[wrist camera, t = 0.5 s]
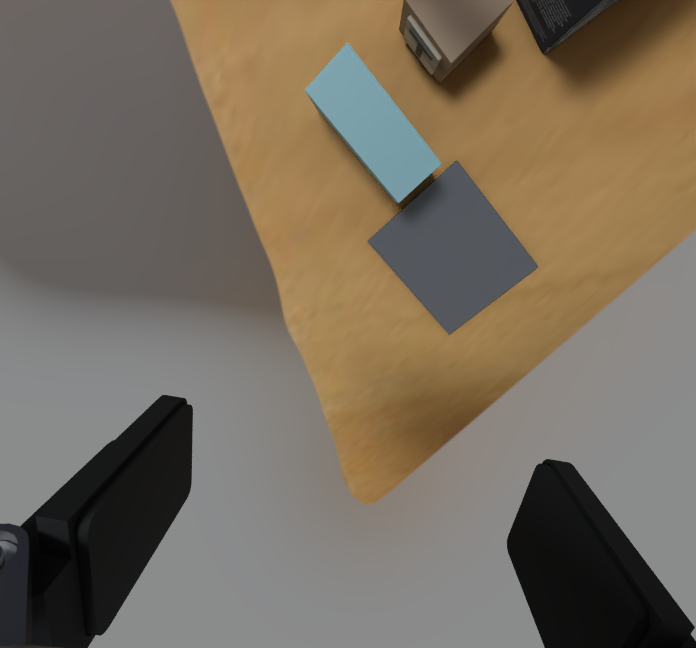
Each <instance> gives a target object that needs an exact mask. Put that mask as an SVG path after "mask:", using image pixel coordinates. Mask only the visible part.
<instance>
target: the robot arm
mask: <svg viewBox="0 0 696 648" xmlns="http://www.w3.org/2000/svg"><path fill="white" fill-rule="evenodd" d="M192 419H193V408H192V406H191V405H188V404H187V401H186V399H185V398H180V397H174V396H168V395H162V396H161V397H160V398H159V399H157V400H156V401H155V402H154V403H153V404H152V405H151V406H150V407H149V408H148V409H147V410H146V411H145V412H144V413H143V414H142V415H141V416H140V417H139V418H138V419H136V421H134V422H133V423H132V424H131V425H130V426H129V427H128V428H127V429H126V430H125V431H124V432H123V433H122V434H121V435H120V436H119V437H118V438H117V439H116V440H114V441H111V442H110V443H109V444H107V445H106V446H105V447H104V448H103V449H102V450H101V451H100V452H99V453H98V454H96V455H95V456H94V457H93V458H92V459H91V460H90V461H89V462H88V463H87V464H86V465H85V466H84V467H83V468H82V469H81V470H79V471H78V472H77V473H76V474H75V475H74V476H73V477H72V478H71V479H70V480H69V481H68V482H67V483H66V484H65V485H64V486H63V487H61V488H60V489H59V490H58V491H57V492H56V493H55V494H54V495H53V496H52V497H51V498H50V499H49V500H48V501H47V502H46V503H44V504H43V505H42V506H41V507H40V508H39V509H38V510H37V511H36V512H35V513H34V514H33V515H32V516H31V517H30V518H29V519H27V521H25V522H24V523H23V524H22V525H21V526H17V525H13V524H0V648H88V646H89V644H90V643H91V641H92V640H93V638H94V637H95V635H102V634H103V633H104V632H105V631H106V630H107V629H108V627H109V626H110V624H111V623H112V621H113V619H114V618H115V616H116V614H117V612H118V611H119V609H120V608H121V606H122V604H123V603H124V601H125V599H126V598H127V596H128V595H129V593H130V591H131V589H132V588H133V586H134V585H135V583H136V581H137V580H138V578H139V576H140V575H141V573H142V572H143V570H144V568H145V566H146V565H147V563H148V562H149V560H150V558H151V557H152V555H153V553H154V552H155V550H156V549H157V547H158V545H159V543H160V542H161V540H162V539H163V537H164V535H165V534H166V532H167V530H168V529H169V527H170V525H171V524H172V522H173V521H174V519H175V517H176V515H177V514H178V512H179V511H180V509H181V507H182V506H183V504H184V502H185V501H186V499H187V497H188V495H189V492H190V488H191V478H192V477H191V476H192V422H193V421H192ZM507 549H508V553H509V556H510V558H511V561H512V563H513V566H514V569H515V571H516V574H517V577H518V579H519V582H520V584H521V586H522V589H523V592H524V595H525V597H526V600H527V603H528V605H529V607H530V610H531V613H532V616H533V618H534V621H535V623H536V626H537V628H538V631H539V634H540V636H541V639H542V641H543V644H544V647H545V648H696V641H695V640H694V638H693V637H692V636H691V632H692V631H693V629H694V628H695V627H694V626H693V624H692V623H691V622H690V620H689V619H688V618H687V616H686V615H685V614H684V612H683V611H682V610H681V608H680V607H679V606H678V604H677V603H676V602H675V600H674V599H673V598H672V596H671V595H670V594H669V592H668V591H667V590H666V588H665V587H664V586H663V584H662V583H661V582H660V580H659V579H658V578H657V576H656V575H655V574H654V572H653V571H652V570H651V568H650V567H649V566H648V565H647V563H646V562H645V560H644V559H643V558H642V557H641V555H640V554H639V552H638V551H637V550H636V549H635V547H634V546H633V544H632V543H631V542H630V540H629V539H628V538H627V537H626V535H625V534H624V532H623V531H622V530H621V529H620V527H619V526H618V525H617V523H616V522H615V521H614V519H613V518H612V517H611V515H610V514H609V513H608V511H607V510H606V509H605V507H604V506H603V505H602V503H601V502H600V501H599V499H598V498H597V497H596V495H595V494H594V493H593V491H592V490H591V489H590V487H589V486H588V485H587V483H586V482H585V481H584V479H583V478H582V477H581V476H580V474H579V473H578V471H577V470H576V469H575V467H574V466H573V465H572V464H571V463H568V462H562V461H556V460H550V459H547V460H545V461H543V463H542V464H538V465H537V466H536V468H535V470H534V473H533V475H532V478H531V480H530V483H529V485H528V488H527V490H526V493H525V495H524V498H523V500H522V503H521V505H520V508H519V510H518V513H517V515H516V518H515V521H514V523H513V526H512V528H511V530H510V533H509V536H508V539H507Z"/></svg>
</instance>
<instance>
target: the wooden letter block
mask: <svg viewBox="0 0 696 648" xmlns="http://www.w3.org/2000/svg"><path fill="white" fill-rule="evenodd" d="M513 1H514V0H404V2H403V8H402V15H401V21H400V27H399V30H400V31H401V33H402V34H403V35H404V39H405V41H406V42H407V43H408V45H409V46H410V48H411V49H412V50H413V52H414V53H415V54H416V56H417V57H418V58H419V60H420V61H421V62H422V64H423V65H424V66H425V68H426V69H427V70H428V72H429V73H430V74H431V75H433V76H434V77H435V79H436V80H437V81H438V83H440V82H441V81H442V80H443V79H444V78H445V77H446V76H447V75H448V74H449V73H450V72H451V71H452V70H453V69H454V68H455V67H456V66H457V65H459V64H460V63H461V62H462V61H463V60H464V59H465V58H466V57H467V56H468V55H469V54H470V53H471V52H472V51H473V50H474V49H475V48H476V47H477V46H478V45H479V44H480V43H481V42H482V41H483V40H484V39H485V38H486V37H487V36H488V35H489V34H490V33H491V32H492V30H493V29H494V28H495V26H496V25H497V23H498V22H499V21H500V19H501V18H502V17H503V15H504V14H505V12H506V11H507V10H508V8H509V7H510V6H511V4H512V3H513Z"/></svg>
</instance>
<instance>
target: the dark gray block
mask: <svg viewBox="0 0 696 648" xmlns="http://www.w3.org/2000/svg"><path fill="white" fill-rule="evenodd" d="M368 242H369V244H370V245H371V246H372V247H373V248H374V249H375V250H376V252H377V253H378V254H379V255H380V256H381V257H382V258H383V260H384V261H385V262H386V263H387V264H388V265H389V266H390V268H391V269H392V270H393V271H394V272H395V273H396V274H397V275H398V277H399V278H400V279H401V280H402V281H403V282H404V283H405V285H406V286H407V287H408V288H409V289H410V290H411V291H412V293H413V294H414V295H415V296H416V297H417V298H418V299H419V301H420V302H421V303H422V304H423V305H424V306H425V307H426V309H427V310H428V311H429V312H430V313H431V314H432V315H433V317H434V318H435V319H436V320H437V321H438V322H439V323H440V325H441V326H442V327H443V328H444V329H445V330H446V331H447V333H448V334H450V333H452V332H453V331H454V330H456V329H457V328H458V327H460V326H461V325H462V324H464V323H465V322H466V321H468V320H469V319H470V318H472V317H473V316H474V315H476V314H477V313H478V312H479V311H481V310H482V309H483V308H485V307H486V306H487V305H489V304H490V303H491V302H493V301H494V300H495V299H497V298H498V297H499V296H501V295H502V294H503V293H504V292H506V291H507V290H508V289H510V288H511V287H512V286H514V285H515V284H516V283H518V282H519V281H520V280H522V279H523V278H524V277H526V276H527V275H528V274H529V273H531V272H532V271H533V270H535V269H536V268H537V267H538V265H537V264H536V263H535V261H534V260H533V259H532V257H531V256H530V255H529V254H528V252H527V251H526V250H525V248H524V247H523V246H522V244H521V243H520V242H519V241H518V239H517V238H516V237H515V235H514V234H513V233H512V231H511V230H510V229H509V227H508V226H507V225H506V224H505V222H504V221H503V220H502V218H501V217H500V216H499V214H498V213H497V212H496V211H495V209H494V208H493V207H492V205H491V204H490V203H489V201H488V200H487V199H486V197H485V196H484V195H483V194H482V192H481V191H480V190H479V188H478V187H477V186H476V184H475V183H474V182H473V181H472V179H471V178H470V177H469V175H468V174H467V173H466V171H465V170H464V169H463V167H462V166H461V165H460V164H459V162H458V161H455V162H454V163H453V164H452V165H451V166H450V167H449V168H448V169H447V170H446V171H444V172H443V173H442V174H441V175H440V176H439V177H438V178H437V179H436V180H434V181H433V182H432V183H431V184H430V185H429V186H428V187H427V188H426V189H425V190H423V191H422V192H421V193H420V194H419V195H418V196H417V197H416V198H415V199H414V200H412V201H411V202H410V203H409V204H408V205H407V206H406V207H405V208H404V209H403V210H401V211H400V212H399V213H398V214H397V215H396V216H395V217H394V218H393V219H391V220H390V221H389V222H388V223H387V224H386V225H385V226H384V227H383V228H382V229H380V230H379V231H378V232H377V233H376V234H375V235H374V236H373V237H372V238H371V239H369V240H368Z"/></svg>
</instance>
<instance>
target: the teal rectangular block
mask: <svg viewBox="0 0 696 648" xmlns="http://www.w3.org/2000/svg"><path fill="white" fill-rule="evenodd" d="M305 92H306V93H307V95H308V96H309V98H310V99H311V101H312V102H313V104H314V105H315V107H316V109H317V110H318V111H319V112H320V113H321V115H322V116H323V117H324V118H325V119H326V121H327V122H328V123H329V124H330V125H331V127H332V128H333V129H334V130H335V131H336V133H337V134H338V135H339V136H340V137H341V139H342V140H343V141H344V142H345V143H346V145H347V146H348V147H349V148H350V149H351V151H352V152H353V153H354V154H355V155H356V157H357V158H358V159H359V160H360V161H361V163H362V164H363V165H364V166H365V167H366V169H367V170H368V171H369V172H370V173H371V175H372V176H373V177H374V178H375V179H376V181H377V182H378V183H379V184H380V185H381V187H382V188H383V189H384V190H385V191H386V193H387V194H388V195H389V196H390V197H391V199H392V200H393V201H394V202H396V203H399V202H400V201H401V200H403V199H404V198H405V197H406V196H407V195H408V194H409V193H410V192H411V191H412V190H413V189H415V188H416V187H417V186H418V185H419V184H420V183H421V182H422V181H423V180H424V179H425V178H427V177H428V176H429V175H430V174H431V173H432V172H433V171H434V170H435V169H436V168H437V167H439V166H440V165H441V164H442V163H441V162H440V160H439V159H438V158H437V157H436V155H435V154H434V153H433V151H432V150H431V149H430V148H429V146H428V145H427V144H426V142H425V141H424V140H423V139H422V137H421V136H420V135H419V133H418V132H417V131H416V130H415V128H414V127H413V126H412V124H411V123H410V122H409V121H408V119H407V118H406V117H405V116H404V114H403V113H402V112H401V110H400V109H399V108H398V107H397V105H396V104H395V103H394V101H393V100H392V99H391V98H390V96H389V95H388V94H387V92H386V91H385V90H384V89H383V87H382V86H381V85H380V83H379V82H378V81H377V80H376V78H375V77H374V76H373V74H372V73H371V72H370V71H369V69H368V68H367V67H366V65H365V64H364V63H363V62H362V60H361V59H360V58H359V56H358V55H357V54H356V53H355V51H354V50H353V49H352V48H351V46H350V45H349V44H348V42H347V43H346V45H345V46H344V47H343V48H342V49H341V50H340V51H339V52H338V53H337V55H336V56H335V57H334V58H333V59H332V60H331V61H330V62H329V64H328V65H327V66H326V67H325V68H324V69H323V70H322V71H321V72H320V74H319V75H318V76H317V77H316V78H315V79H314V80H313V81H312V83H311V84H310V85H309V86H308V87H307V88H306V89H305Z"/></svg>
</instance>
